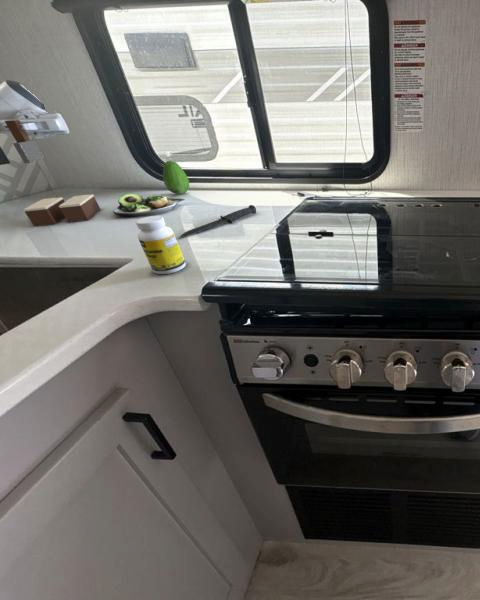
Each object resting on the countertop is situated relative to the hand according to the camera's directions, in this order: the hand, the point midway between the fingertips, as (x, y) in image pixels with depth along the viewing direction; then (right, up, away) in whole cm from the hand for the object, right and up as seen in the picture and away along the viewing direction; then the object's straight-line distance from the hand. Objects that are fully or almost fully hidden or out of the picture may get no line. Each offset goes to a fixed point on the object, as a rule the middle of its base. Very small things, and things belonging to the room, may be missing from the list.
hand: (14, 127), depth 105 cm
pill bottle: (+73, -48, -33) cm, 93 cm away
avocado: (+39, -14, +21) cm, 47 cm away
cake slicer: (0, -8, +6) cm, 10 cm away
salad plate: (+39, -25, +5) cm, 46 cm away
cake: (+19, -29, -1) cm, 35 cm away
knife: (+71, -33, -9) cm, 78 cm away
